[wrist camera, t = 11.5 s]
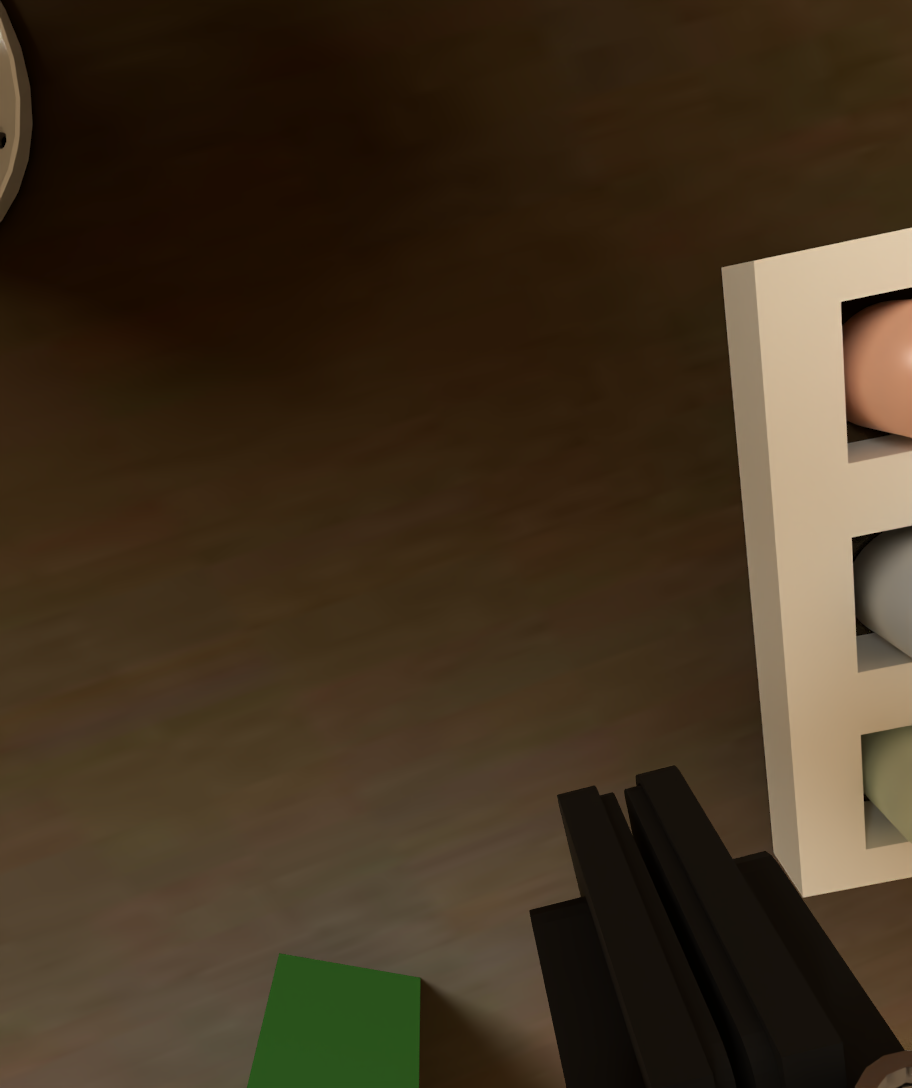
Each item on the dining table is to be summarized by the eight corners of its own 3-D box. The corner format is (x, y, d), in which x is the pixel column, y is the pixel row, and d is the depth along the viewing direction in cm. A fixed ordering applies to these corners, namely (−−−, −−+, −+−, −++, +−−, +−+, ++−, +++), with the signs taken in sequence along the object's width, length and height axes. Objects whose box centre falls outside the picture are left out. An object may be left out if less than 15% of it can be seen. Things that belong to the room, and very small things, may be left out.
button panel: (721, 267, 29) (753, 260, 26) (1027, 203, 28) (1094, 189, 26) (773, 853, 37) (802, 897, 34) (1012, 807, 36) (1062, 848, 33)
